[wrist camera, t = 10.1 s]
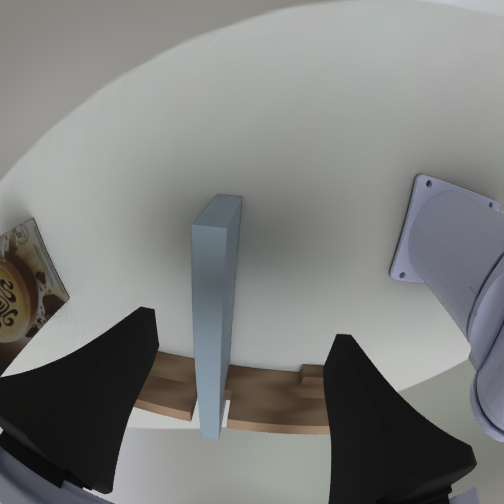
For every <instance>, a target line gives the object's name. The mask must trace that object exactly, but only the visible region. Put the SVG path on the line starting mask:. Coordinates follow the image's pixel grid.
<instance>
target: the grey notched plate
mask: <svg viewBox="0 0 504 504" xmlns="http://www.w3.org/2000/svg"><path fill="white" fill-rule="evenodd" d="M241 204H242V197H241V196H231V195H221V194H217V195H216V197H215V198H214V199H213V200H212V201H211V202H210V204H209V205H208V206H207V207H206V208H205V209H204V211H203V212H202V213H201V214H200V215H199V217H198V218H197V219H196V220H195V221H194V223H193V224H192V312H193V336H194V355H195V370H196V384H197V396H198V407H199V417H200V427H201V435H202V437H204V438H210V439H216V440H219V437H220V432H221V426H222V420H223V415H224V409H225V404H226V400H224V391H225V382H226V377H227V372H228V367H229V361H230V346H231V331H232V317H233V303H234V290H235V277H236V264H237V251H238V239H239V227H240V215H241Z"/></svg>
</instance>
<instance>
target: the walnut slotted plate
mask: <svg viewBox="0 0 504 504" xmlns="http://www.w3.org/2000/svg"><path fill="white" fill-rule="evenodd" d="M323 367H324V366H319V365H303V366H302V369H301V371H300V373H298V372H285V371H274V370H265V369H256V368H248V367H240V366H233V365H229V367H228V372H227V377H226V382H225V391H224V400H231V401H230V407H229V413H228V419H227V428H232V429H240V430H248V431H258V432H269V433H285V434H330V428H329V422H328V415H327V409H326V402H325V396H324V386H323ZM197 397H198V396H197V384H196V370H195V359H191V358H186V357H181V356H176V355H171V354H167V353H162V352H158V351H157V354H156V358H155V360H154V363H153V366H152V368H151V371H150V373H149V375H148V377H147V379H146V381H145V383H144V385H143V387H142V389H141V391H140V394H139V396H138V398H137V400H136V402H135V404H134V406H133V407H136V408H140V409H143V410H147V411H150V412H154V413H157V414H161V415H165V416H169V417H173V418H178V419H182V420H187V421H191V420H192V416H193V412H194V409H195V405H196V401H197Z"/></svg>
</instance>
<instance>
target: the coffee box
mask: <svg viewBox="0 0 504 504" xmlns="http://www.w3.org/2000/svg"><path fill="white" fill-rule="evenodd" d="M68 300H69V297H68V295H67V293H66V291H65V289H64V287H63V285H62V283H61V281H60V279H59V277H58V275H57V273H56V271H55V269H54V267H53V265H52V263H51V260H50V258H49V256H48V254H47V251H46V249H45V246H44V244H43V242H42V239H41V237H40V234H39V232H38V229H37V226H36V223H35V221H34V219H33V218H32V219H30V220H28V221H26V222H24V223H22V224H20V225H19V226H17V227H15V228H13V229H12V230H10V231H8V232H6V233H5V234H3V235H1V236H0V377H1V375H2V374H3V373H4V371H5V370H6V369H7V368H8V366H9V365H10V364H11V363H12V362H13V360H14V359H15V358H16V357H17V355H18V354H19V353H20V352H21V351H22V349H23V348H24V347H25V346H26V345H27V344H28V343H29V341H30V340H31V339H32V338H33V337H34V336H35V335H36V333H37V332H38V331H39V330H40V329H41V328H42V327H43V326H44V325H45V324H46V322H47V321H48V320H49V319H50V318H51V317H52V316H53V315H54V314H55V313H56V312H57V311H58V310H59V309H60V308H61V307H62V306H63V305H64V304H65V303H66V302H67V301H68Z"/></svg>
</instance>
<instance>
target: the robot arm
mask: <svg viewBox="0 0 504 504" xmlns="http://www.w3.org/2000/svg"><path fill="white" fill-rule="evenodd" d="M428 180H429V185H428V186H426V182H427V181H428ZM489 203H490V205H489ZM500 208H501V206H500V203H499V202H497V201H495V200H492V199H490V198H488V197H485V196H483V195H480V194H478V193H475V192H473V191H470V190H467V189H465V188H462V187H459V186H456V185H454V184H451V183H448V182H445V181H442V180H439V179H436V178H433V177H430V176H427V175H423V174H419V175H418V176H417V177H416V179H415V184H414V189H413V193H412V197H411V202H410V206H409V210H408V213H407V217H406V221H405V225H404V228H403V232H402V235H401V239H400V242H399V245H398V249H397V252H396V255H395V258H394V261H393V264H392V267H391V270H390V277H391V278H392V279H393V280H398V281H407V282H416V283H425V284H426V285H427V286H428V287H429V288H430V290H431V291H432V292H433V293H434V295H435V296H436V297H437V299H438V300H439V301H440V303H441V304H442V305H443V307H444V308H445V309H446V311H447V312H448V313H449V315H450V316H451V317H452V319H453V320H454V322H455V323H456V324H457V326H458V327H459V329H460V330H461V332H462V333H463V335H464V336H465V338H466V339H467V341H468V342H469V343H470V346H471V352H470V355H469V357H468V358H469V360H470V361H471V363H472V365H473V367H474V368H475V370H476V373H475V375H474V377H473V380H472V383H471V387H470V404H471V408H472V412H473V414H474V417H475V419H476V421H477V422H478V424H479V425H480V427H481V428H482V429H483V430H484V431H485V432H486V433H487V434H488V435H489V436H490V437H492V438H493V439H495V440H498V441H500V442H504V215H502V214H501V213H499V212H500ZM402 272H403V275H401V276H400V273H402ZM158 348H159V341H158V334H157V326H156V318H155V310H154V309H150V308H145V307H139V308H138V309H137V310H135V311H134V312H132V313H131V314H130V315H128V316H127V317H126V318H124V319H123V320H122V321H120V322H119V323H117V324H116V325H115V326H113V327H112V328H110V329H109V330H108V331H106V332H105V333H103V334H102V335H100V336H99V337H97V338H96V339H94V340H93V341H91V342H90V343H88V344H86V345H85V346H83V347H82V348H80V349H78V350H76V351H74V352H73V353H71V354H69V355H67V356H65V357H63V358H61V359H58V360H56V361H54V362H51V363H49V364H46V365H44V366H42V367H39V368H36V369H33V370H30V371H26V372H23V373H19V374H15V375H10V376H5V377H0V427H1V428H2V429H3V432H2V434H0V502H1V503H2V504H114V503H112V502H109V501H107V500H104V499H102V498H100V497H98V496H95V495H93V494H91V493H89V492H87V491H85V490H83V487H84V488H86V489H89V490H92V489H93V490H96V491H98V492H100V493H103V494H108V493H111V492H112V490H113V482H114V475H115V469H116V464H117V460H118V455H119V451H120V446H121V443H122V439H123V435H124V432H125V428H126V426H127V422H128V419H129V416H130V414H131V411H132V409H133V406H134V404H135V402H136V400H137V398H138V396H139V394H140V391H141V389H142V387H143V385H144V383H145V381H146V379H147V377H148V375H149V373H150V371H151V368H152V366H153V363H154V360H155V358H156V354H157V351H158ZM323 386H324V396H325V402H326V409H327V415H328V422H329V428H330V435H331V484H330V495H329V503H328V504H480V503H479V498H478V494H477V490H476V487H473V488H471V489H469V490H467V491H465V492H463V493H461V494H459V495H457V496H455V497H453V498H451V499H449V498H448V494H449V493H451V492H452V488H451V484H453V483H455V482H456V481H458V480H459V479H461V478H462V477H464V476H465V475H467V474H468V473H469V472H471V471H472V470H473V469H474V468H475V467H476V465H477V462H476V459H475V456H474V453H473V450H472V447H471V446H470V445H468V444H466V443H464V442H462V441H460V440H458V439H456V438H454V437H453V436H451V435H449V434H448V433H446V432H444V431H443V430H441V429H440V428H438V427H437V426H435V425H434V424H433V423H431V422H430V421H429V420H427V419H426V418H425V417H423V416H422V415H421V414H420V413H418V412H417V411H416V410H415V409H414V408H413V407H412V406H411V405H410V404H409V403H407V402H406V401H405V400H404V399H403V398H402V397H401V396H400V395H399V394H398V393H397V392H396V391H395V389H394V388H393V387H392V386H391V385H390V384H389V383H388V382H387V380H386V379H385V378H384V377H383V376H382V374H381V373H380V372H379V371H378V369H377V368H376V367H375V366H374V364H373V363H372V362H371V360H370V359H369V358H368V356H367V355H366V354H365V353H364V351H363V350H362V348H361V347H360V346H359V344H358V343H357V342H356V340H355V339H354V338H353V337H352V335H347V334H337V335H336V337H335V340H334V342H333V345H332V347H331V350H330V352H329V355H328V357H327V360H326V362H325V365H324V367H323Z"/></svg>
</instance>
